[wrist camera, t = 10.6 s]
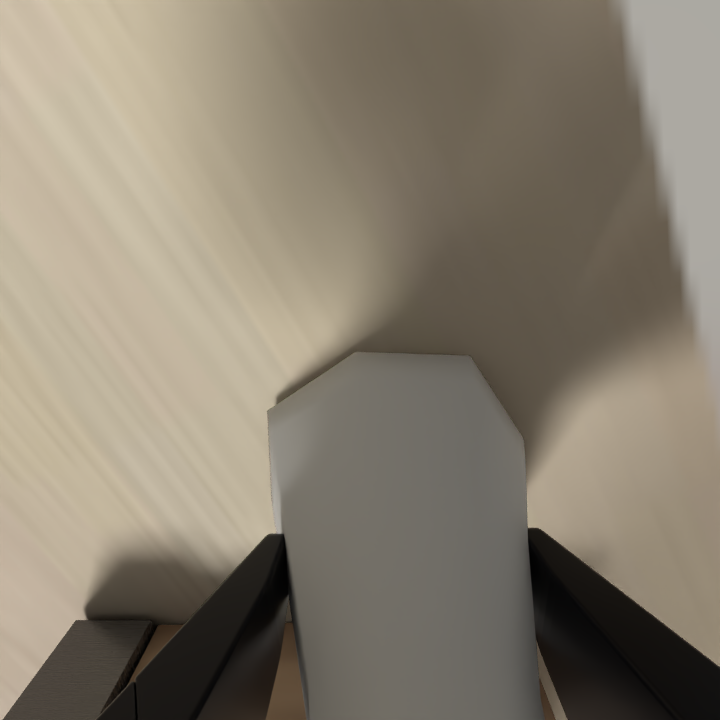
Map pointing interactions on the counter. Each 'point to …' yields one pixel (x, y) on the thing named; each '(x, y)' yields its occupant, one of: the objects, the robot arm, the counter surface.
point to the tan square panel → (277, 676)
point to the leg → (84, 671)
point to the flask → (406, 542)
